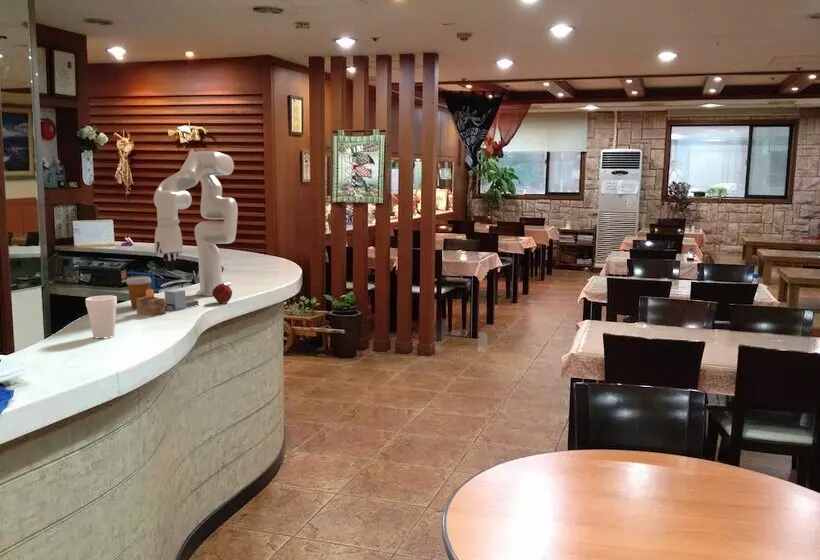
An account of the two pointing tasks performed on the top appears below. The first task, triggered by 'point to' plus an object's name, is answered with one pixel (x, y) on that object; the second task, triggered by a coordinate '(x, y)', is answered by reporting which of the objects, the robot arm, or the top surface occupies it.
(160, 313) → the tan slotted block
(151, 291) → the peg
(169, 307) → the rail
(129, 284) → the disposable coffee cup
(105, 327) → the foam cup
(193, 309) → the top surface
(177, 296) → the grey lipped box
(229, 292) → the apple
